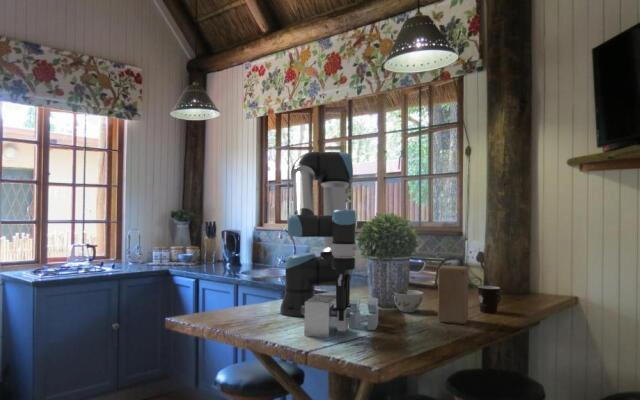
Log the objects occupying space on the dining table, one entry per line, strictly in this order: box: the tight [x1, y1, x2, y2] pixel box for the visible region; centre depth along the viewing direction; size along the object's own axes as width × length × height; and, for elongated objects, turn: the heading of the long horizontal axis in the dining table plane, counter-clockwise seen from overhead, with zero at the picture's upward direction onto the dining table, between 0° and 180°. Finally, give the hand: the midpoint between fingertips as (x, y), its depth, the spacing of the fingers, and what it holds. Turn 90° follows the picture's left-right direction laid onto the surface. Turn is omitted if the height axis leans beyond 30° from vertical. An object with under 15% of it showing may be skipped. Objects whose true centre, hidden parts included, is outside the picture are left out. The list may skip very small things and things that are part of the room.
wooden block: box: [437, 265, 469, 325], centre depth 189 cm, size 10×10×20 cm
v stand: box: [348, 296, 379, 331], centre depth 178 cm, size 9×9×10 cm
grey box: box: [303, 293, 337, 338], centre depth 170 cm, size 8×16×11 cm, turn 166°
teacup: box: [393, 289, 424, 313], centre depth 208 cm, size 15×12×8 cm
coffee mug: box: [477, 285, 501, 314], centre depth 206 cm, size 12×9×10 cm
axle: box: [301, 306, 351, 319], centre depth 167 cm, size 16×3×3 cm, turn 76°
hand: (342, 329), depth 165 cm, fingers closed on axle, 3 cm apart
